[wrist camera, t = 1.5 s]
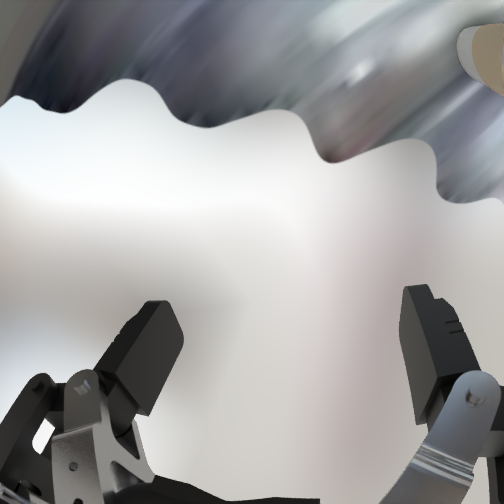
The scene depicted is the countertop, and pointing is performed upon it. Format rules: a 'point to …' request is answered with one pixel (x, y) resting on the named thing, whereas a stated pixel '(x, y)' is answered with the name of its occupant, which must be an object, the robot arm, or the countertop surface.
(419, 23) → the countertop surface
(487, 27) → the coffee cup
